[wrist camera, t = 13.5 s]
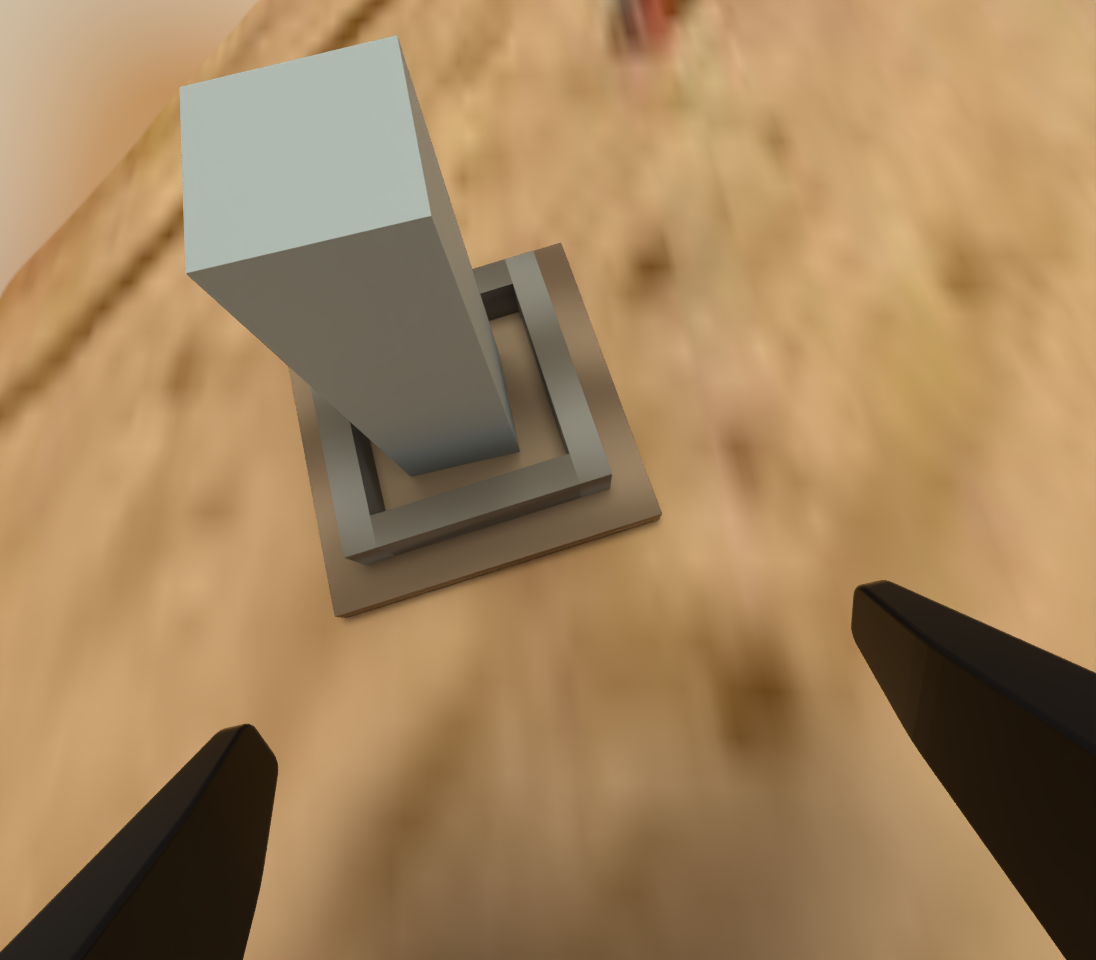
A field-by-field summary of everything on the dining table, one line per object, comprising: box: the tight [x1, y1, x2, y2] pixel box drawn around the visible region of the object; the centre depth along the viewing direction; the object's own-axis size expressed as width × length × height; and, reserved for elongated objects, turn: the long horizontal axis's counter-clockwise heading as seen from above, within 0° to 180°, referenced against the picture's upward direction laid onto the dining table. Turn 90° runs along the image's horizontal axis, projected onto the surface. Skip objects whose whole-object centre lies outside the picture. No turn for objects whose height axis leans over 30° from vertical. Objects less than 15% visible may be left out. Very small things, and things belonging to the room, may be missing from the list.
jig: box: [289, 243, 662, 618], centre depth 23 cm, size 13×13×3 cm
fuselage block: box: [180, 35, 520, 477], centre depth 17 cm, size 4×4×13 cm
